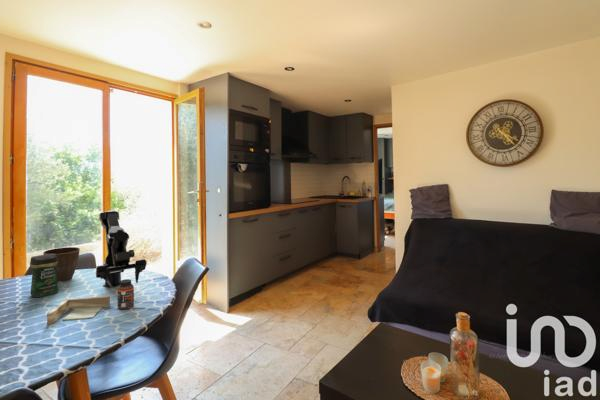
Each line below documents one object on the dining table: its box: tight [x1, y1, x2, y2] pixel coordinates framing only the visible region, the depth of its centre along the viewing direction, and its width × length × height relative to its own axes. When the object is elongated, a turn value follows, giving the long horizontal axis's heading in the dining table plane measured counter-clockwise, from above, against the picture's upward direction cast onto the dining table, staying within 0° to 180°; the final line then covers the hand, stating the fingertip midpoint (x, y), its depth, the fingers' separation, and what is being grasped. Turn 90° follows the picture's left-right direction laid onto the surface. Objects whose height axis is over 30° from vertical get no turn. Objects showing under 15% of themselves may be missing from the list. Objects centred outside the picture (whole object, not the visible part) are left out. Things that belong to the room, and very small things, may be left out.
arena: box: [46, 295, 111, 325], centre depth 116 cm, size 14×16×4 cm
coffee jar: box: [29, 254, 59, 298], centre depth 134 cm, size 10×8×19 cm
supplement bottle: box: [117, 278, 135, 310], centre depth 123 cm, size 6×6×11 cm
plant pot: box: [42, 246, 81, 283], centre depth 153 cm, size 15×15×16 cm
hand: (124, 284), depth 123 cm, fingers open, 9 cm apart
